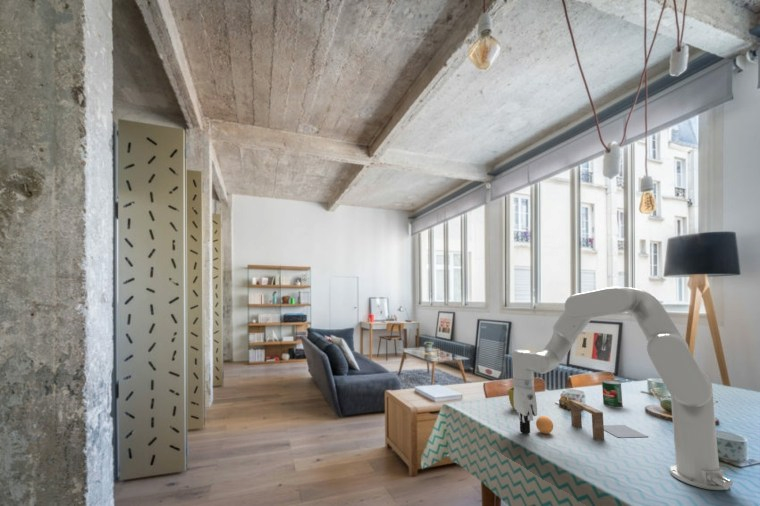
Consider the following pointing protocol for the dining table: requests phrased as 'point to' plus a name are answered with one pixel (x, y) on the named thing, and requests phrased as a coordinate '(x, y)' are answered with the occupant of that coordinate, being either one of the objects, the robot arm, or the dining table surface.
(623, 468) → the dining table surface
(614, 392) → the canned tomato
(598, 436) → the bridge
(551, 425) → the ball
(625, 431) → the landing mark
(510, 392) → the flower pot
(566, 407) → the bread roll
